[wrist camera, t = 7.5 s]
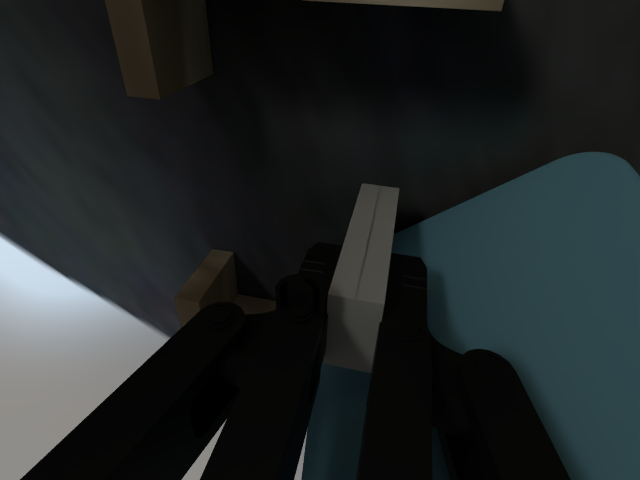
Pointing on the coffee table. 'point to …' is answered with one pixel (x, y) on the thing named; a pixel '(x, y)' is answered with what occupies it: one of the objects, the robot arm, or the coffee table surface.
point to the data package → (526, 314)
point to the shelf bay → (182, 71)
